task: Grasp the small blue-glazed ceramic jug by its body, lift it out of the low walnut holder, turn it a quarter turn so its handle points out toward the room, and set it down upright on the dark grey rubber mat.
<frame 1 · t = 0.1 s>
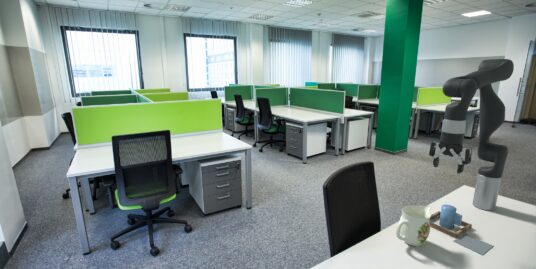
hand: (447, 169, 108), 29 cm above the table, fingers open, 8 cm apart
pitcher: (410, 242, 109), on the table
mat: (473, 243, 107), on the table
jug: (450, 217, 118), in the holder
holder: (446, 225, 120), on the table
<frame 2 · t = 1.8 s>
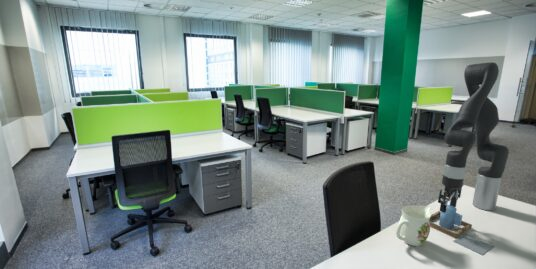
hand: (447, 209, 118), 8 cm above the table, fingers open, 8 cm apart
nothing on the table moved.
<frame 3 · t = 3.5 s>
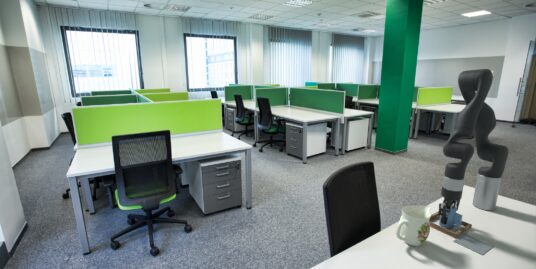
hand: (446, 221, 120), 2 cm above the table, fingers closed on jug, 5 cm apart
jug: (450, 217, 118), in the holder, touching gripper
everything else where it was.
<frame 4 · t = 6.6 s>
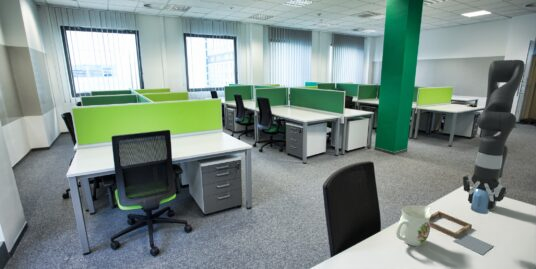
hand: (480, 205, 103), 17 cm above the table, fingers closed on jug, 5 cm apart
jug: (479, 200, 102), point 19 cm above the table, touching gripper
everything else where it was.
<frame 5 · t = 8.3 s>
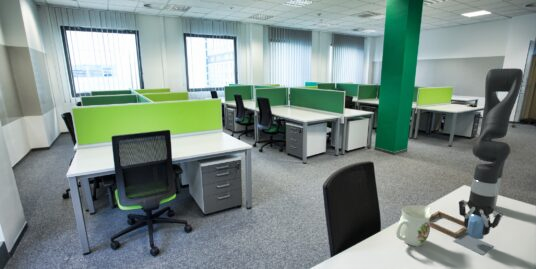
hand: (475, 230, 106), 6 cm above the table, fingers closed on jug, 5 cm apart
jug: (475, 225, 105), point 9 cm above the table, touching gripper
everything else where it was.
when the fingers open (4 cm above the table, at t = 9.8 s): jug drops 1 cm, resting on mat.
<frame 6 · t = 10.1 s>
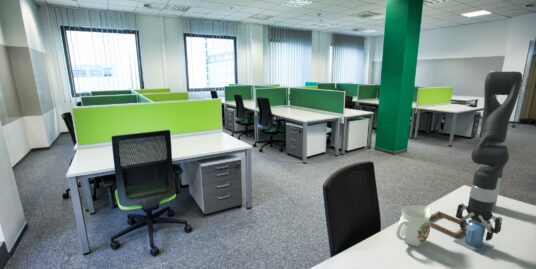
hand: (474, 234, 106), 4 cm above the table, fingers open, 8 cm apart
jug: (473, 234, 106), resting on mat
everything else where it was.
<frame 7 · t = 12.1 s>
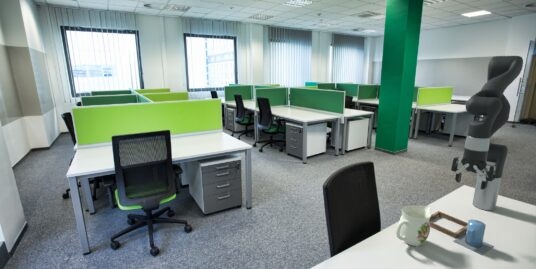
hand: (469, 185, 109), 22 cm above the table, fingers open, 8 cm apart
nothing on the table moved.
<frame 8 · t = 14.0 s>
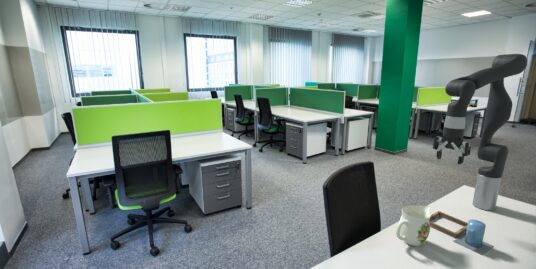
hand: (448, 161, 121), 28 cm above the table, fingers open, 8 cm apart
nothing on the table moved.
at the end: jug inside the target area (0.1 cm from its centre), resting on mat; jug tilted 1°; the gripper is holding nothing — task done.
